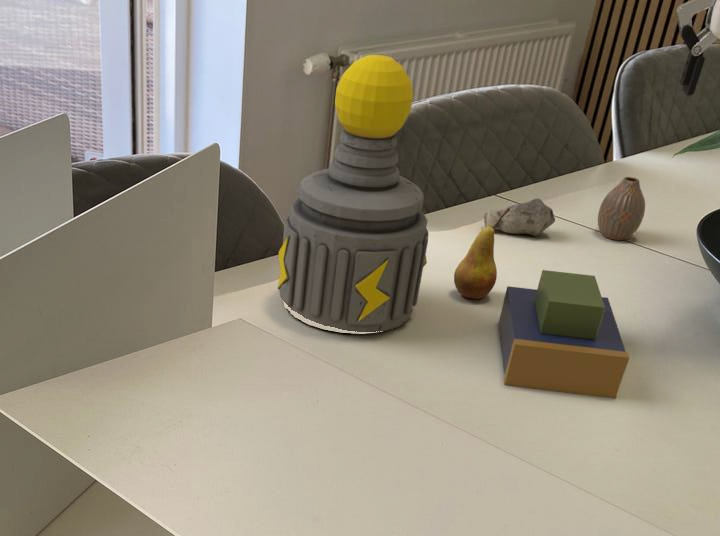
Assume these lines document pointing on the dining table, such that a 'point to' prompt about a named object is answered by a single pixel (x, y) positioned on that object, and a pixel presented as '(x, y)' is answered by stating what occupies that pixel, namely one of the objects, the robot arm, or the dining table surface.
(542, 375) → the blue and tan box
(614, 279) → the dining table surface
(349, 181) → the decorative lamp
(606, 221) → the vase
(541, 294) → the green rectangular block
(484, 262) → the fruit
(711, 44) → the robot arm
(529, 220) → the stone
